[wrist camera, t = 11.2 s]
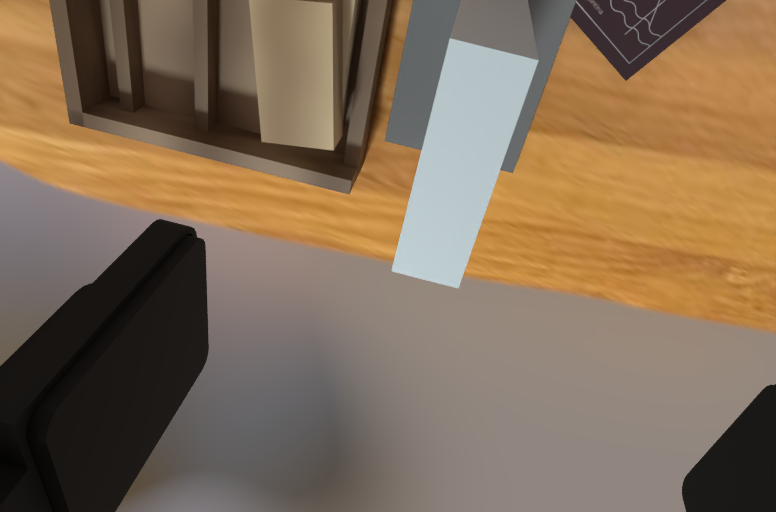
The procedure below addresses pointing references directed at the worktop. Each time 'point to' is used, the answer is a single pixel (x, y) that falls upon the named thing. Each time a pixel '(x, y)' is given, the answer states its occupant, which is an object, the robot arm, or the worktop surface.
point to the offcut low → (349, 43)
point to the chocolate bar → (637, 27)
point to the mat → (426, 57)
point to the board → (467, 137)
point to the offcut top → (299, 71)
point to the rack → (201, 82)
